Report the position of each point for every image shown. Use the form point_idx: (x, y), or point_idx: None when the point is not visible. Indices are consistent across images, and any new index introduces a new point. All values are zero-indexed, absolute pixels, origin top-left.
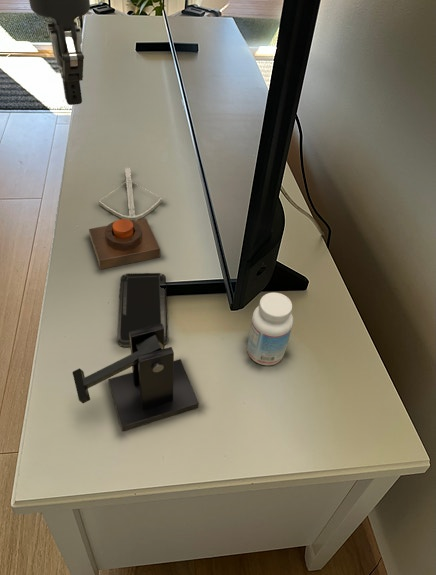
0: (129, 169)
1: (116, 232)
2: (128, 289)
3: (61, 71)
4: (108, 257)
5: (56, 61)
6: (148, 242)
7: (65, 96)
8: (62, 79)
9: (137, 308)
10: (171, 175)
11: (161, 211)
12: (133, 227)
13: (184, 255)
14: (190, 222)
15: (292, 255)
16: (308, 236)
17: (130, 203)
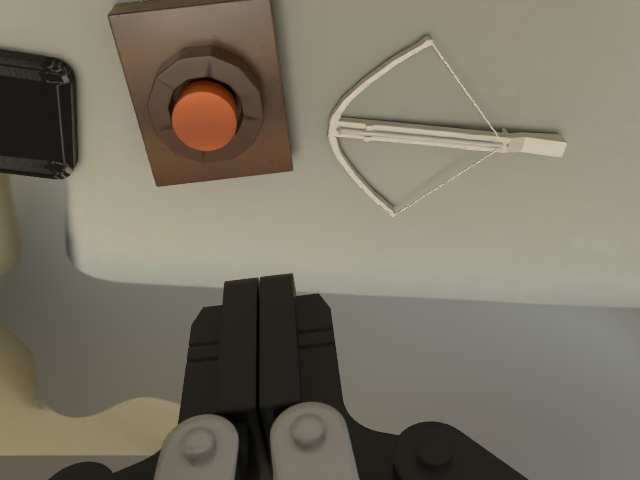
0: (555, 153)
1: (180, 96)
2: (5, 79)
3: (212, 477)
4: (121, 44)
5: (435, 449)
6: (184, 162)
7: (264, 296)
8: (298, 380)
9: None
10: (504, 247)
11: (353, 201)
12: None
13: (165, 225)
14: (292, 258)
15: (150, 410)
16: None
17: (388, 134)
